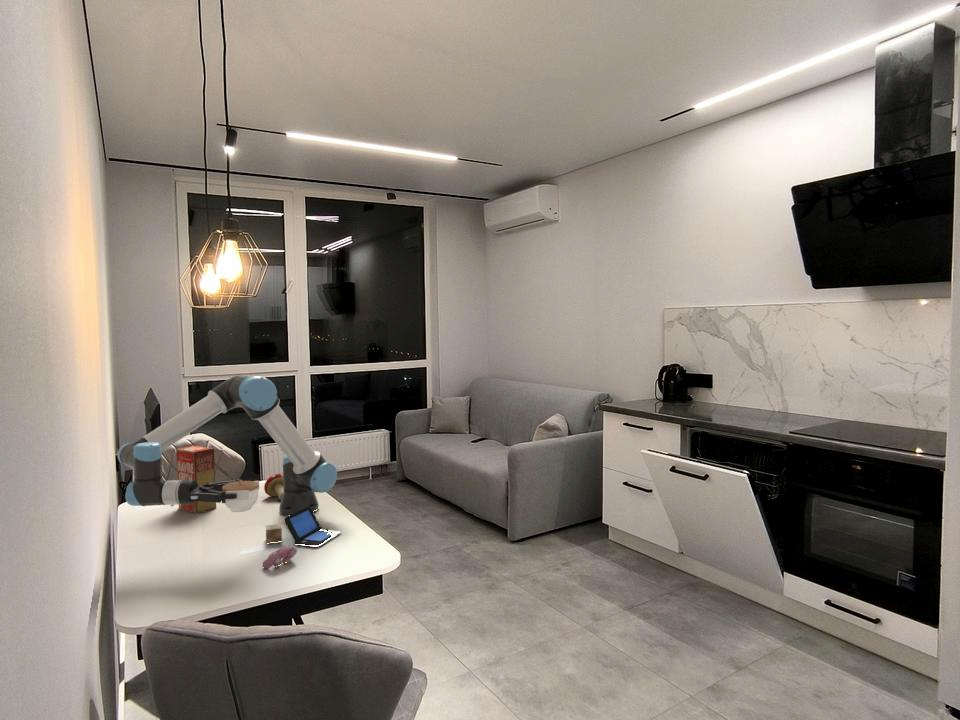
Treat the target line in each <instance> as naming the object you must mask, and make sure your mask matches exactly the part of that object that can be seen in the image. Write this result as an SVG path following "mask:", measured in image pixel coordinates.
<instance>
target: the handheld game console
mask: <svg viewBox="0 0 960 720" xmlns="http://www.w3.org/2000/svg"><path fill="white" fill-rule="evenodd" d="M314 513H315V512H314ZM314 513H313V511H312V510H311V508H310V507H307V508H305V509H303V510H301V511H299V512H297V513H295V514H292V515H290V516H285V518H284V524H285V526H286V527H287V529H288V531H289V534H290V535H291V537H292V539H293V540H294V545H295V544H305V545H319V544H321V543H323V542H324V541H325V540H327V539H328V538H330V537H331V535H330V534H328V535H327V533H328V532H324V531H319V530H320V529H323V527H322V525H321V524H320V523H319V521H318V520H317V517H316V515H315V514H314ZM325 529H326V530H327V531H328V529H329V528H328V529H327V528H325ZM331 533H332V532H331Z"/></svg>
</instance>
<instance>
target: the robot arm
mask: <svg viewBox="0 0 960 720" xmlns="http://www.w3.org/2000/svg"><path fill="white" fill-rule="evenodd" d="M280 402H281V401H280V398H279V397H278V390H277V388H276V385H275V384H274V382H273V381H272V380H270V379H269V378H266V377H264V376H261V375H247V374H238V375H237V374H236V375H234V376H232V377H230V378H228V379H226V380H225V381H223V382H222V383H220V384H218V385H217V386H215V387H214V388H212V389H211V390H208V392H207V396H205V397H203V398H202V399H200V400H199V401H197V402H196V403H194V404H192V405H190V406H189V407H188V408H186V409H184V410H183V411H181V412H180V413H178V414H177V415H175V416H174V417H172V418H170V419H169V420H167V421H166V422H165V423H162V425H159V426H157V427H156V428H155V429H153V430H152V431H150V432H148V433H147V434H146V435H144V436H143V437H140V438H139V439H137V440H136V441H134V442H128V443H125V444H123V445H122V446H120V447H119V449H118V451H117V460H118V462H119V463H120V464H121V465H123V466H124V467H126V468H129V469H132V470H133V471H134V481H131V482H129V483H128V485H127V486H126V489H125V490H126V491H125V496H124V497H125V501H126V503H127V504H128V505H130V506H132V507H136V506H137V507H150V506H153V507H154V506H169V505H170V507H174V506H175V505H176V506H177V505H178V506H179V504H182V505H183V504H194V503H195V502H196V501H201V502H216V504H217V503H219V504H220V503H221V504H225V503H226V500H248V499H249V490H239V491H226V494H225V492H223V491H222V487H223V486H224V485H226V484H229V483H233V482H239V480H240V479H239V478H236V479H233V480H225V481H224V480H223V481H215V482H207V483H206V484H202V486H199V485H198V484H197V482H196V481H195V480H183V481H181V480H178V479H175V480H172V479H171V480H169V479H168V480H163V466H162V465H163V460H162V459H163V458H162V456H163V452H164V451H165V450H167V449H168V448H170V447H171V446H173V445H174V444H176V443H177V442H179V441H181V440H182V439H183V438H184V437H186V436H188V435H190V434H191V433H192V432H194V431H195V430H197V429H198V428H200V427H201V426H203V425H204V424H206V423H207V422H209V421H211V420H212V419H214V418H215V417H217V416H218V415H219V414H221V413H222V414H226V413H228V412H229V411H230V410H233V409H235V408H242V409H243V410H244V411H245V412H246V414H247V415H248V416H249V417H250V419H251V420H254V421H255V420H256V421H259V423H260V424H261V425H262V427H263V428H264V429H265V431H266V432H267V433H268V434H269V436H270V438H272V439H273V440H274V442H275V443H276V445H278V447H279V448H280V450H281V451H282V452H283V453H284V455H285V456H284V457H283V458H282V474H283V487H284V493H283V497H282V500H280V504H279V508H278V509H279V514H280V513H281V514H280V515H282V514H284V515H283V516H286V515H292V514H295V513H297V512H299V511H301V510H303V509H305V508H307V507H310V508H311V510H312V511H314V510H316V509H318V507H319V501H318V499H317V496H316V493H319V494H321V493H327V492H328V491H330V490H331V489H332V488H333V487H334V486H335V483H336V482H337V477H338V471H337V470H338V469H337V468H336V466H335V465H334V464H333V463H331V462H329V461H326V460H325V458H324V457H323V454H321V453H320V451H318V450H313V449H312V448H311V446H310V445H309V444H308V442H307V441H306V439H305V438H304V437H303V435H301V433H300V432H299V431H298V429H297V428H296V426H295V425H294V424H293V422H291V419H290V418H289V417H288V415H286V413H285V412H284V410H283V409H282V407H280ZM253 481H254V482H257V483H258V484H259V485H260V481H259V480H253ZM259 490H260V486H259V487H258V491H259ZM318 510H319V509H318Z"/></svg>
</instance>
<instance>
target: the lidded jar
mask: <svg viewBox="0 0 960 720" xmlns="http://www.w3.org/2000/svg"><path fill="white" fill-rule="evenodd" d="M254 481H255V480H253V481H252V480H243V479H239V482H233V483H229V484H226V485H224V486H223V487H222V491H223V492H225V494H226V491H239V490H249V499H248V500H226V503H224V505H225V506H226V508H228V509H229V510H230V512H233V513H242V512H247V511H250V510H252V508H253V506H254V505H256V502H257V500H258V498H259V497H258V496H259V490H258V487H259V488H260V483H259V484H258V483H257V482H254Z"/></svg>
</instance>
